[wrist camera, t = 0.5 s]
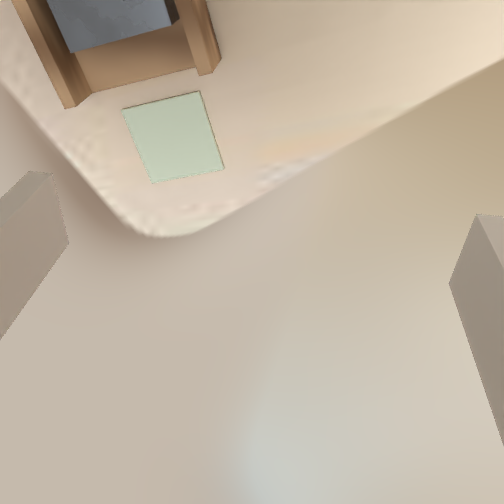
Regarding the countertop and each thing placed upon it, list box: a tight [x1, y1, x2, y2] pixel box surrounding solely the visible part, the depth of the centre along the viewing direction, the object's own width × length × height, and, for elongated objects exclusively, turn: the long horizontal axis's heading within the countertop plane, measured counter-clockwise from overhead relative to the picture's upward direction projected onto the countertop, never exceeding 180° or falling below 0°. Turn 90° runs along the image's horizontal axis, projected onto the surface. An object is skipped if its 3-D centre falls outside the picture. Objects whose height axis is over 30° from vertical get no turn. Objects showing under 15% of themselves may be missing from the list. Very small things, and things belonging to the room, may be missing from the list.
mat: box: [121, 91, 224, 183], centre depth 41 cm, size 7×7×1 cm
